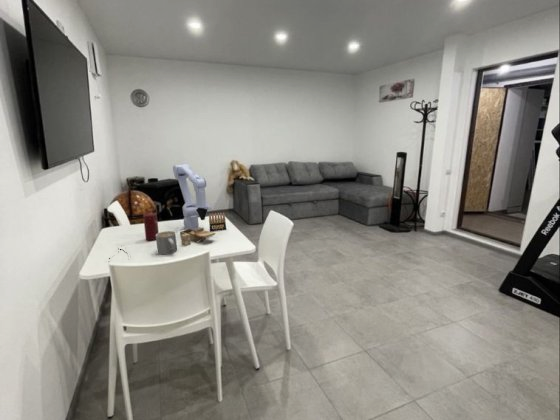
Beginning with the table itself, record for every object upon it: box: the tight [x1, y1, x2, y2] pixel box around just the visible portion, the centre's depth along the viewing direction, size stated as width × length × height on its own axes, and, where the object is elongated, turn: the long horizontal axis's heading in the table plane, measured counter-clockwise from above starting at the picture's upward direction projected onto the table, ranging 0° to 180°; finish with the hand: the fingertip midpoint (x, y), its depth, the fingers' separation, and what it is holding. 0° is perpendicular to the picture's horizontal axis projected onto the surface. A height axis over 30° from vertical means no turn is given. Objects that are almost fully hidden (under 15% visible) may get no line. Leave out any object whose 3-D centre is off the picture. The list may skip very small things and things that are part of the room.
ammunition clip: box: [208, 211, 227, 232], centre depth 195 cm, size 11×2×12 cm, turn 108°
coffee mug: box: [155, 230, 178, 256], centre depth 160 cm, size 13×10×10 cm
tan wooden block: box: [180, 233, 192, 247], centre depth 171 cm, size 4×4×6 cm
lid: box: [189, 227, 216, 239], centre depth 176 cm, size 15×8×3 cm, turn 56°
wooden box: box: [179, 229, 207, 243], centre depth 182 cm, size 14×8×4 cm, turn 56°
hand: (202, 219), depth 185 cm, fingers closed
